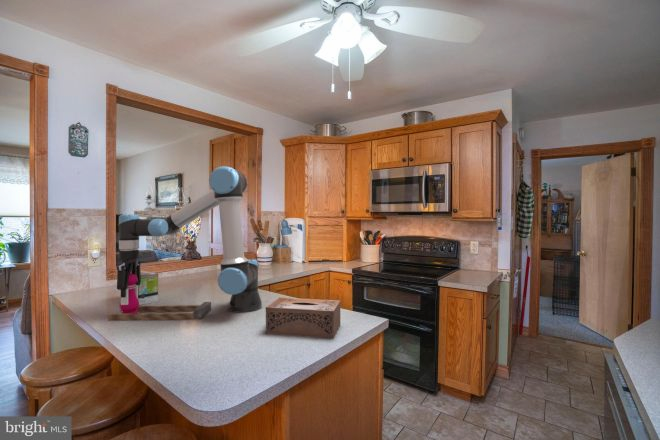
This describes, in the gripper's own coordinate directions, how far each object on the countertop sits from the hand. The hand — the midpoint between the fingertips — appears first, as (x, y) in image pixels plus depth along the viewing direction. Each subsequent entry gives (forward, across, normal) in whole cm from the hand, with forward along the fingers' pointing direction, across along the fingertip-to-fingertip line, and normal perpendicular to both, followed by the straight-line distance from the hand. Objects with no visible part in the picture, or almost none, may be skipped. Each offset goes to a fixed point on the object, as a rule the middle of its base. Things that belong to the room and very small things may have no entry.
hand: (129, 302), depth 138 cm
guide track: (+6, 0, +13) cm, 14 cm away
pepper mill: (+6, 0, 0) cm, 6 cm away
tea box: (+6, -24, -8) cm, 26 cm away
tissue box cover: (+6, +20, +77) cm, 80 cm away
